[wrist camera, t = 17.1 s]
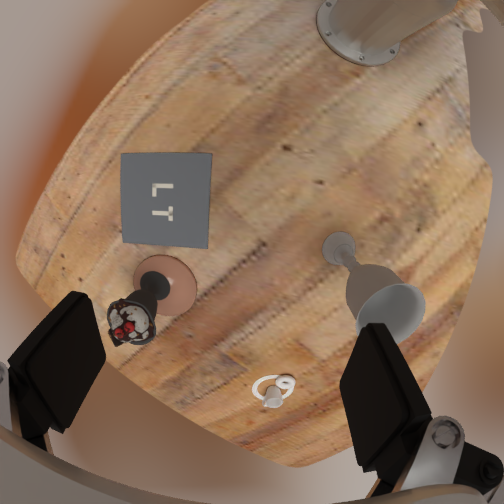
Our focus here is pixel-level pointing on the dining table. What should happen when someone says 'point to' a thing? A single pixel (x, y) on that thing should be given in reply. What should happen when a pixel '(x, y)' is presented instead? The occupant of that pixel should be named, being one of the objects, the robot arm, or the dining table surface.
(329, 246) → the chalice
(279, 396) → the teacup and saucer
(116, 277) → the dining table surface
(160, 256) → the coaster
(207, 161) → the card
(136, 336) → the sundae
